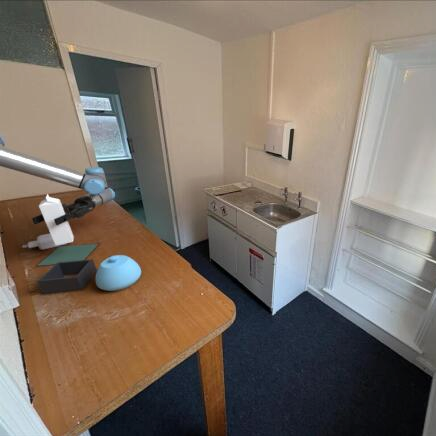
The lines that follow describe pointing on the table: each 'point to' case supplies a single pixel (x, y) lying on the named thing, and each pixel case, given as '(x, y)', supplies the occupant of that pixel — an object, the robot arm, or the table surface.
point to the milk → (51, 211)
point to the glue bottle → (43, 242)
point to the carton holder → (56, 283)
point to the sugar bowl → (117, 273)
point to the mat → (68, 254)
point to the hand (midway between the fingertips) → (45, 221)
